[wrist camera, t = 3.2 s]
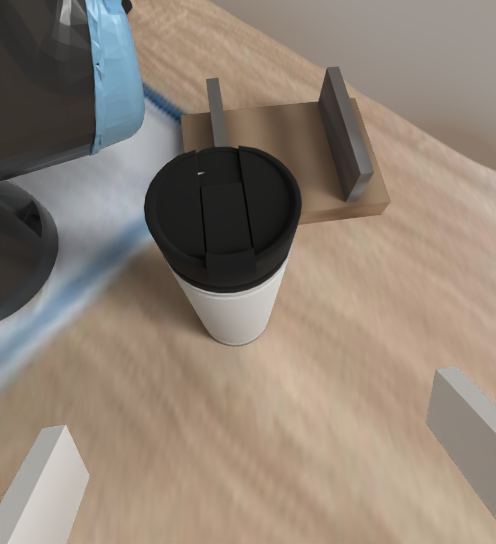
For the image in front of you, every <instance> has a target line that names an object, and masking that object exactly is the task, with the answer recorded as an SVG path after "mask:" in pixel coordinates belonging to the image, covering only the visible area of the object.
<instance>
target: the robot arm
mask: <svg viewBox="0 0 496 544" xmlns="http://www.w3.org/2000/svg"><path fill="white" fill-rule="evenodd" d="M144 112H145V105H144V94H143V87H142V81H141V75H140V70H139V65H138V60H137V55H136V51H135V46H134V42H133V38H132V34H131V30H130V26H129V22H128V18H127V15H126V13H125V11H124V9H123V7H122V5H121V0H0V320H2V319H4V318H6V317H8V316H10V315H11V314H13V313H14V312H16V311H17V310H19V309H20V308H21V307H23V306H24V305H25V304H26V303H27V302H28V301H30V300H31V299H32V298H33V297H34V295H35V294H36V293H37V292H38V291H39V290H40V288H41V287H42V286H43V284H44V283H45V282H46V280H47V278H48V277H49V275H50V273H51V271H52V268H53V266H54V263H55V260H56V257H57V252H58V233H57V228H56V225H55V222H54V220H53V218H52V217H51V215H50V213H49V212H48V211H47V210H46V209H45V208H44V207H43V206H42V205H41V204H40V203H39V202H38V201H37V200H36V199H35V198H34V197H33V196H32V195H30V194H29V193H28V192H26V191H25V190H23V189H21V188H20V187H18V186H16V185H13V184H11V183H9V182H6V181H4V180H7V179H10V178H13V177H17V176H20V175H23V174H26V173H30V172H33V171H36V170H40V169H43V168H46V167H50V166H53V165H56V164H60V163H63V162H66V161H70V160H73V159H76V158H79V157H83V156H86V155H90V156H91V155H94V154H97V153H98V152H99V151H100V149H102V148H105V147H107V146H110V145H112V144H115V143H118V142H120V141H123V140H125V139H128V138H130V137H132V136H133V135H134V134H135V133H136V132H137V131H138V130H139V129H140V127H141V125H142V123H143V120H144ZM426 424H427V426H428V427H429V428H430V430H431V431H432V432H433V434H434V435H435V437H436V438H437V439H438V441H439V442H440V443H441V445H442V446H443V448H444V449H445V450H446V452H447V453H448V455H449V456H450V457H451V459H452V460H453V461H454V463H455V464H456V466H457V467H458V468H459V470H460V471H461V472H462V474H463V475H464V477H465V478H466V479H467V481H468V482H469V483H470V485H471V486H472V488H473V489H474V490H475V492H476V493H477V494H478V496H479V497H480V499H481V500H482V501H483V503H484V504H485V506H486V507H487V508H488V510H489V511H490V512H491V514H492V515H493V517H494V518H495V519H496V404H495V403H494V402H493V401H492V400H491V399H490V398H489V397H488V396H487V395H486V394H485V393H484V392H482V391H481V390H480V389H479V388H478V387H477V386H476V385H475V384H474V383H473V382H472V381H471V380H470V379H469V378H468V377H467V376H466V375H465V374H464V373H463V372H462V371H461V370H460V369H459V368H458V367H457V366H451V367H445V368H438V369H436V371H435V376H434V382H433V387H432V392H431V397H430V402H429V407H428V413H427V418H426ZM89 477H90V476H89V474H88V472H87V470H86V467H85V465H84V463H83V461H82V459H81V457H80V454H79V452H78V450H77V448H76V446H75V444H74V441H73V439H72V437H71V435H70V433H69V431H68V428H67V426H66V424H65V425H58V426H52V427H45V428H42V430H41V431H40V433H39V435H38V437H37V439H36V440H35V442H34V444H33V446H32V447H31V449H30V451H29V453H28V455H27V456H26V458H25V460H24V462H23V464H22V465H21V467H20V469H19V471H18V473H17V474H16V476H15V478H14V480H13V481H12V483H11V485H10V487H9V489H8V490H7V492H6V494H5V496H4V498H3V499H2V501H1V503H0V544H66V543H67V540H68V538H69V535H70V532H71V529H72V526H73V523H74V520H75V517H76V514H77V512H78V509H79V506H80V503H81V500H82V497H83V494H84V491H85V488H86V486H87V483H88V480H89Z"/></svg>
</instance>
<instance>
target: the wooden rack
mask: <svg viewBox="0 0 496 544" xmlns="http://www.w3.org/2000/svg"><path fill="white" fill-rule="evenodd" d="M206 82H207V91H208V99H209V107H210V112H209V113H199V114H189V115H181V125H182V136H183V147H184V153H187V152H190V151H192V150H195V149H196V153H197V152H199V151H201V150H203V149H207V148H213V147H230V146H231V147H234V148H237V149H238V145H240V146H246V147H253V148H258V149H260V150H262V151H265V152H267V153H269V154H271V155H272V156H274V157H275V158H277V159H278V160H280V161H281V162H282V163H283V164H284V165H285V166H286V167H287V168H288V169H289V170H290V172H291V173H292V174H293V176H294V177H295V179H296V181H297V183H298V186H299V188H300V191H301V199H302V209H301V216H300V219H299V223H298V225H300V224H308V223H316V222H324V221H332V220H340V219H348V218H357V217H365V216H373V215H381V214H382V212H383V211H384V210H385V208H386V207H387V206H388V204H389V203H390V202H391V201H390V198H389V195H388V192H387V189H386V186H385V184H384V181H383V178H382V175H381V172H380V169H379V166H378V163H377V160H376V157H375V155H374V152H373V149H372V146H371V143H370V140H369V137H368V134H367V131H366V128H365V126H364V123H363V120H362V117H361V114H360V111H359V108H358V105H357V102H356V99H355V98H349V96H348V93H347V90H346V87H345V84H344V81H343V78H342V75H341V72H340V69H339V67H329V68H327V70H326V74H325V78H324V82H323V86H322V90H321V94H320V98H319V101H318V102H308V103H299V104H289V105H279V106H269V107H259V108H249V109H239V110H229V111H223V106H222V100H221V93H220V86H219V80H218V78H212V79H206Z"/></svg>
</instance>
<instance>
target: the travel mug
mask: <svg viewBox="0 0 496 544" xmlns="http://www.w3.org/2000/svg"><path fill="white" fill-rule="evenodd" d="M301 209H302V199H301V191H300V188H299V186H298V183H297V181H296V179H295V177H294V176H293V174H292V173H291V172H290V170H289V169H288V168H287V167H286V166H285V165H284V164H283V163H282V162H281V161H280V160H278V159H277V158H275V157H274V156H272V155H271V154H269V153H267V152H265V151H262V150H260V149H258V148H253V147H246V146H240V145H238V149H237V148H234V147H231V146H230V147H213V148H207V149H203V150H201V151H199V152H197V153H196V149H195V150H192V151H190V152H187V153H184V154H182V155H179V156H177V157H175V158H174V159H173V160H171V161H170V162H168V163H167V164H166V165H165V166H164V167H163V168H162V169H161V170H160V171H159V172H158V173H157V174H156V176H155V177H154V179H153V180H152V182H151V183H150V186H149V188H148V191H147V193H146V197H145V204H144V212H145V220H146V223H147V226H148V229H149V231H150V233H151V235H152V237H153V238H154V240H155V242H156V243H157V245H158V247H159V249H160V250H161V252H162V253H163V256H164V258H165V261H166V263H167V265H168V266H169V268H170V270H171V271H172V273H173V275H174V276H175V278H176V280H177V281H178V283H179V284H180V286H181V288H182V289H183V291H184V293H185V294H186V296H187V298H188V299H189V301H190V303H191V304H192V306H193V308H194V309H195V311H196V313H197V314H198V316H199V318H200V319H201V321H202V323H203V324H204V326H205V328H206V329H207V331H208V332H209V334H210V335H211V336H212V337H213V338H214V339H215V340H217V341H218V342H220V343H222V344H225V345H228V346H243V345H247V344H249V343H251V342H253V341H254V340H256V339H257V338H258V337H259V336H260V335H261V334H262V333H263V331H264V330H265V328H266V326H267V323H268V320H269V317H270V314H271V311H272V308H273V304H274V301H275V298H276V295H277V292H278V289H279V286H280V283H281V280H282V277H283V274H284V270H285V267H286V264H287V261H288V258H289V255H290V252H291V249H292V244H293V238H294V235H295V232H296V229H297V226H298V223H299V219H300V216H301Z"/></svg>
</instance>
